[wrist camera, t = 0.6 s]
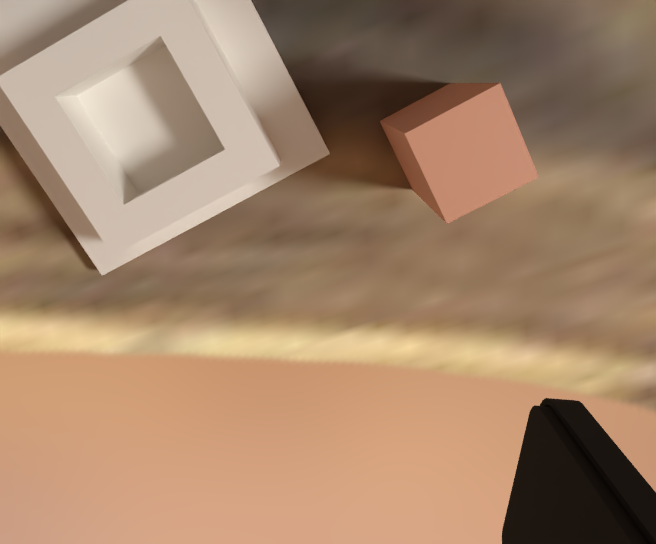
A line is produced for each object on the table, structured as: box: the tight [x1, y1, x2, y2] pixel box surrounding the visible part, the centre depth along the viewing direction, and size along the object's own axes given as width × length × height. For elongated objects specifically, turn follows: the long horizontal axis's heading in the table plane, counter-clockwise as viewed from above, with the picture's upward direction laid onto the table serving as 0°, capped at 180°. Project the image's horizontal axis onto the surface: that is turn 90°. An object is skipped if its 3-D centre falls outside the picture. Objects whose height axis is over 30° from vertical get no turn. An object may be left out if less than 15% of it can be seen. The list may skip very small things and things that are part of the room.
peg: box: [380, 83, 539, 224], centre depth 30 cm, size 4×4×9 cm
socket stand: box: [0, 0, 330, 275], centre depth 30 cm, size 15×20×4 cm
